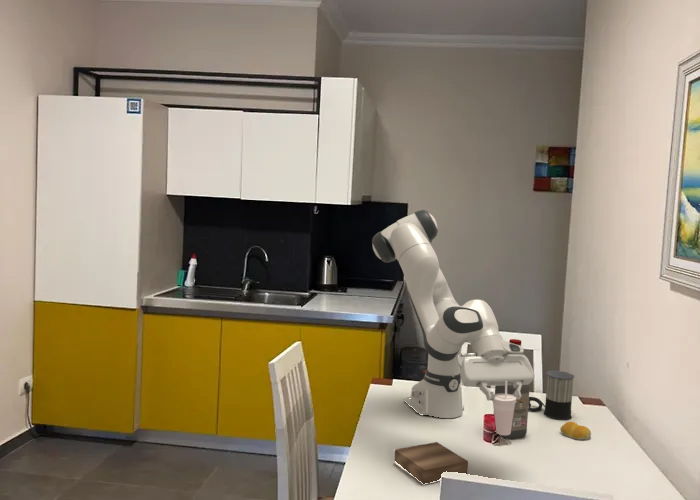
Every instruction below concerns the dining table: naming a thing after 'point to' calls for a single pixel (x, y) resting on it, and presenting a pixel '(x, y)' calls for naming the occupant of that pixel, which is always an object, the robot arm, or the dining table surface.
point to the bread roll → (575, 431)
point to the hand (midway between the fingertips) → (504, 399)
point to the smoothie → (503, 411)
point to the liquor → (517, 406)
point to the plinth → (430, 461)
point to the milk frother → (556, 396)
